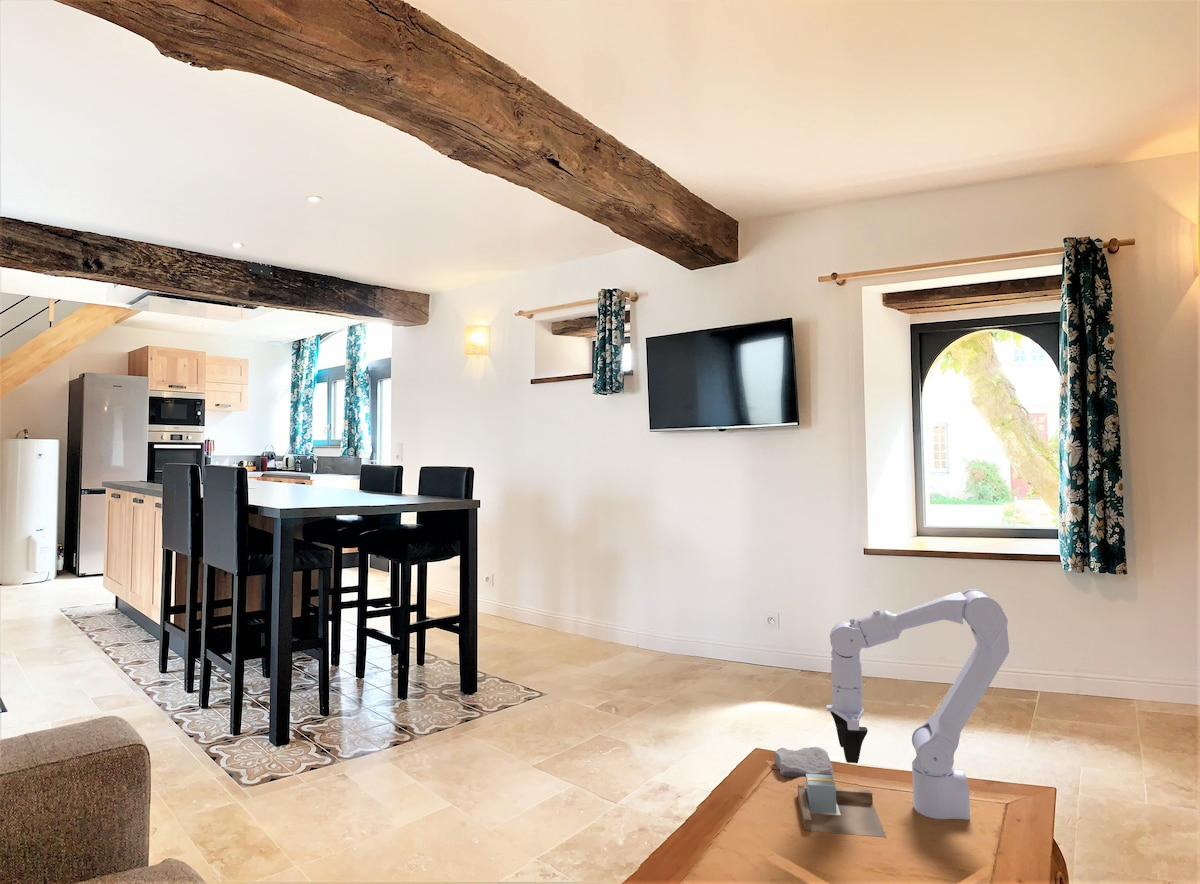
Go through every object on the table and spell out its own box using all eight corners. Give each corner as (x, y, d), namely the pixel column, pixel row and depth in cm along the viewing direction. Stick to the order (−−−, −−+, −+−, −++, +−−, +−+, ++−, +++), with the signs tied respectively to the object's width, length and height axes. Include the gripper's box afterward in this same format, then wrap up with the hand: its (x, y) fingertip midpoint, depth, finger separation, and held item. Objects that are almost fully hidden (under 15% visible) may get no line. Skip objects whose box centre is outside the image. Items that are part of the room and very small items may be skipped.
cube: (832, 801, 138) (832, 774, 139) (836, 813, 133) (835, 786, 134) (806, 799, 139) (805, 773, 140) (809, 811, 134) (808, 784, 135)
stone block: (838, 789, 150) (826, 761, 160) (837, 769, 150) (826, 742, 160) (781, 790, 151) (773, 762, 161) (781, 770, 151) (772, 743, 160)
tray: (871, 806, 139) (871, 790, 139) (886, 843, 125) (886, 825, 125) (798, 801, 141) (797, 785, 141) (804, 837, 127) (804, 819, 128)
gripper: (821, 673, 148) (823, 739, 148) (830, 695, 134) (832, 768, 133) (856, 675, 147) (858, 741, 146) (869, 697, 133) (872, 770, 132)
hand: (848, 754), depth 140 cm, fingers open, 7 cm apart
